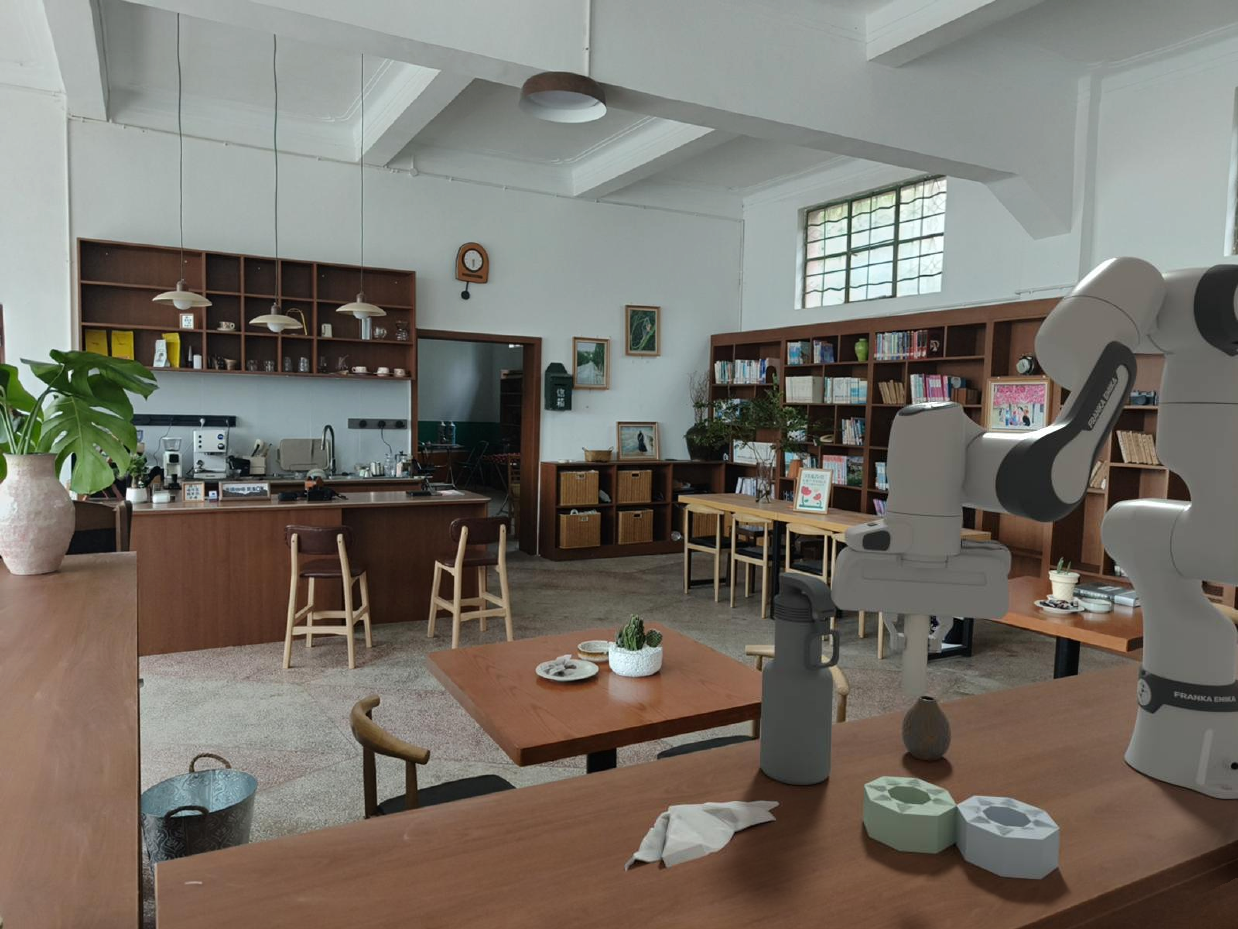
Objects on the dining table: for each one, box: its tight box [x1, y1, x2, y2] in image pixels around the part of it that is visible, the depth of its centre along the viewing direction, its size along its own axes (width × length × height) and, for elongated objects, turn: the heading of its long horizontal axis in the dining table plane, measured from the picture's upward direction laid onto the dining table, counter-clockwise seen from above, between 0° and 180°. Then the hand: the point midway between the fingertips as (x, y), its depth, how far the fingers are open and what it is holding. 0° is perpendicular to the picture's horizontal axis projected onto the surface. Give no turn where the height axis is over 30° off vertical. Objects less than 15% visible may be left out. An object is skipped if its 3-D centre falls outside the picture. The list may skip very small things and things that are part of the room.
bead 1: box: [862, 776, 958, 855], centre depth 101 cm, size 10×10×4 cm
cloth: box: [624, 800, 780, 872], centre depth 101 cm, size 26×14×2 cm, turn 117°
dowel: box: [900, 614, 931, 697], centre depth 100 cm, size 3×3×12 cm
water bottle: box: [759, 571, 841, 786], centre depth 116 cm, size 10×10×28 cm
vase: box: [901, 695, 952, 762], centre depth 124 cm, size 7×7×9 cm
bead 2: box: [954, 795, 1061, 880], centre depth 96 cm, size 10×10×4 cm
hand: (915, 650), depth 100 cm, fingers closed on dowel, 3 cm apart
